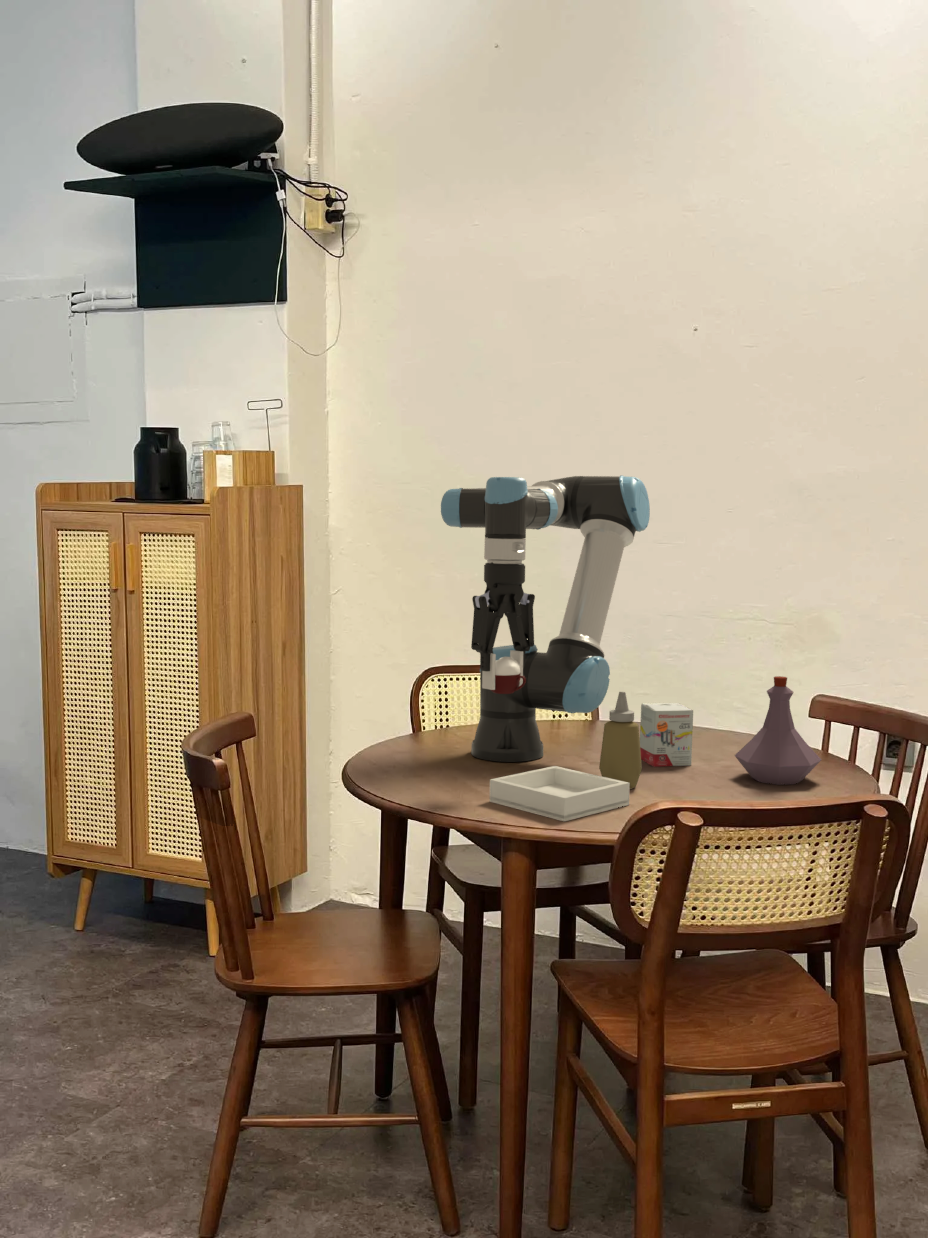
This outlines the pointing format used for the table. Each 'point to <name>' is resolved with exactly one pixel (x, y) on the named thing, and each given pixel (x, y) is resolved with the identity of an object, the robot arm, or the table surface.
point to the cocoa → (507, 676)
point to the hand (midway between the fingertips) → (502, 687)
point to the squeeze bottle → (621, 745)
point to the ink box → (666, 734)
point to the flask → (778, 744)
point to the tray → (559, 793)
